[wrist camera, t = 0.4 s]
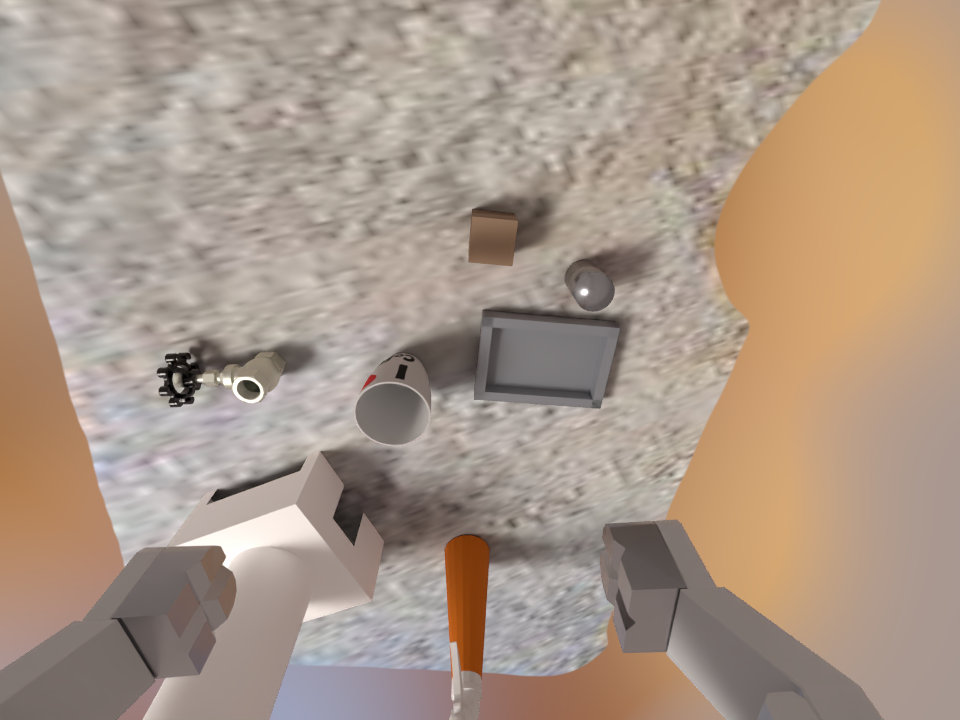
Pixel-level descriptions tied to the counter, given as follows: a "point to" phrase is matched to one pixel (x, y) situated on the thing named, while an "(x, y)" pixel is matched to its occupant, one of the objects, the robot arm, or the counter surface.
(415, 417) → the cup
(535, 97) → the counter surface
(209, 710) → the white cylinder stand
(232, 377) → the valve
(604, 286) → the metal cylinder
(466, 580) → the spray bottle
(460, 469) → the counter surface
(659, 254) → the counter surface
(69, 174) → the counter surface
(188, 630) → the robot arm
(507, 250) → the walnut block
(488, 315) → the parts tray
